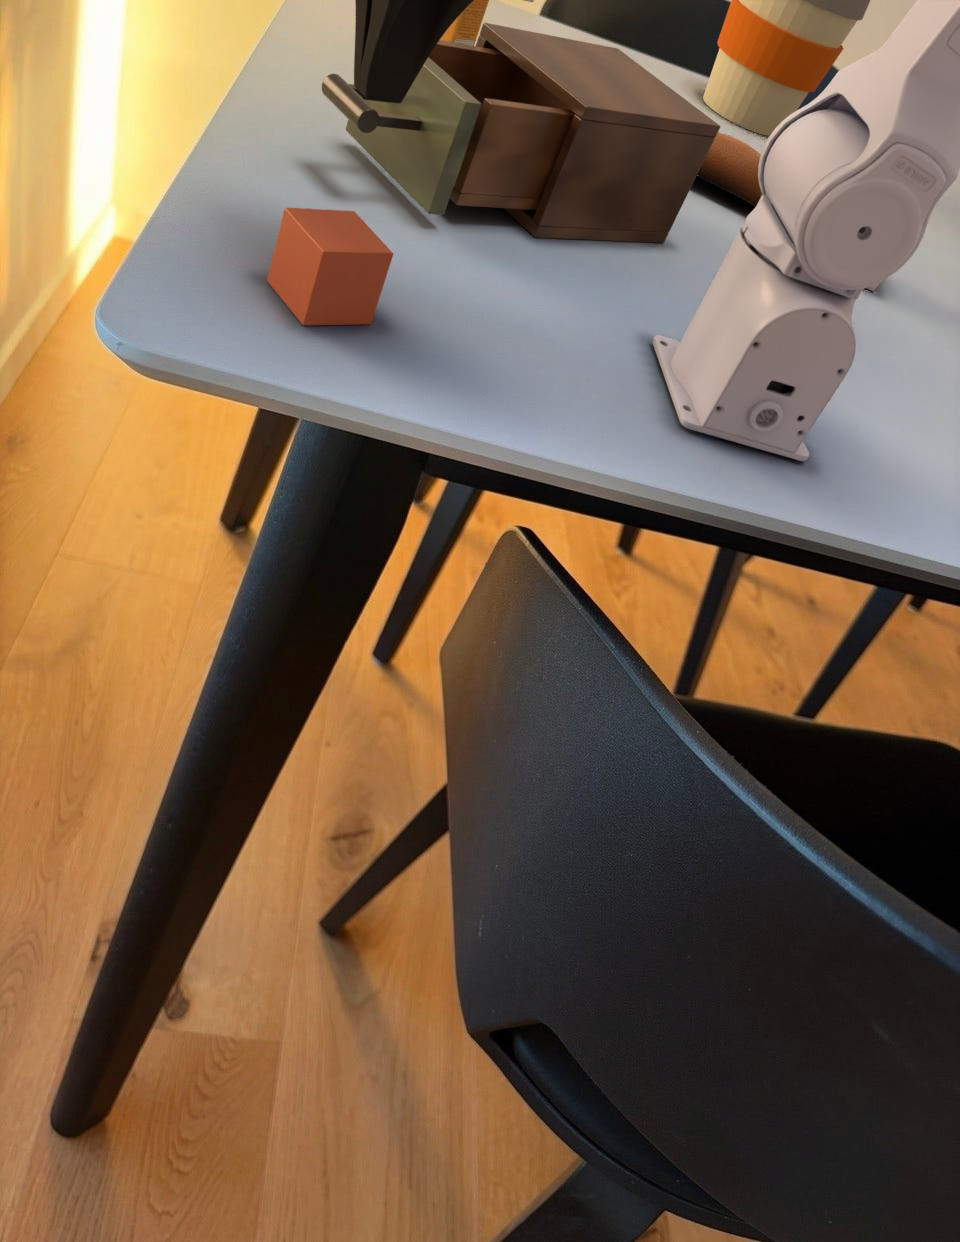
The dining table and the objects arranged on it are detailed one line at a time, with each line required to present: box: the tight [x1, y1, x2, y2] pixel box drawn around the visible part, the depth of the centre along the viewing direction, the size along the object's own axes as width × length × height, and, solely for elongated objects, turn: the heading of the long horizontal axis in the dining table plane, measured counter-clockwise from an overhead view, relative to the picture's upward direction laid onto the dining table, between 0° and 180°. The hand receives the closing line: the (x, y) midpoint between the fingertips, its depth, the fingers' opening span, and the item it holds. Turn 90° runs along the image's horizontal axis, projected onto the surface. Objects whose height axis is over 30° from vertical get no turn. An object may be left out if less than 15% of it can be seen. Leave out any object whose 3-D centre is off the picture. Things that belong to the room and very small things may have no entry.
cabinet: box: [475, 22, 721, 244], centre depth 76 cm, size 13×12×9 cm
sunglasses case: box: [696, 131, 762, 208], centre depth 93 cm, size 18×7×7 cm
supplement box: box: [440, 0, 490, 46], centre depth 86 cm, size 3×3×10 cm
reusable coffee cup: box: [702, 0, 871, 137], centre depth 110 cm, size 12×13×15 cm
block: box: [266, 207, 394, 326], centre depth 55 cm, size 4×4×4 cm
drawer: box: [321, 40, 575, 216], centre depth 69 cm, size 16×10×7 cm, turn 125°
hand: (377, 94), depth 53 cm, fingers closed
